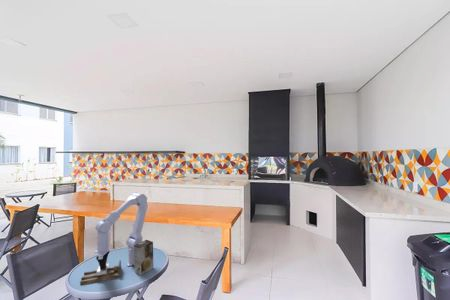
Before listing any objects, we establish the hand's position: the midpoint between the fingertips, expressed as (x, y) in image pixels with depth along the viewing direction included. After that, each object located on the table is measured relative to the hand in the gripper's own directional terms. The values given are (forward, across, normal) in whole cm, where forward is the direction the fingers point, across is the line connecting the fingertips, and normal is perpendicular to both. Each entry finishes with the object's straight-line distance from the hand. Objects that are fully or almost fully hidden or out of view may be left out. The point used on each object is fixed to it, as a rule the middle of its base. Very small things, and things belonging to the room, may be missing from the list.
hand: (103, 266), depth 122 cm
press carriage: (+3, 0, 0) cm, 3 cm away
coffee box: (+6, +2, +22) cm, 23 cm away
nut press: (+5, 0, 0) cm, 5 cm away
